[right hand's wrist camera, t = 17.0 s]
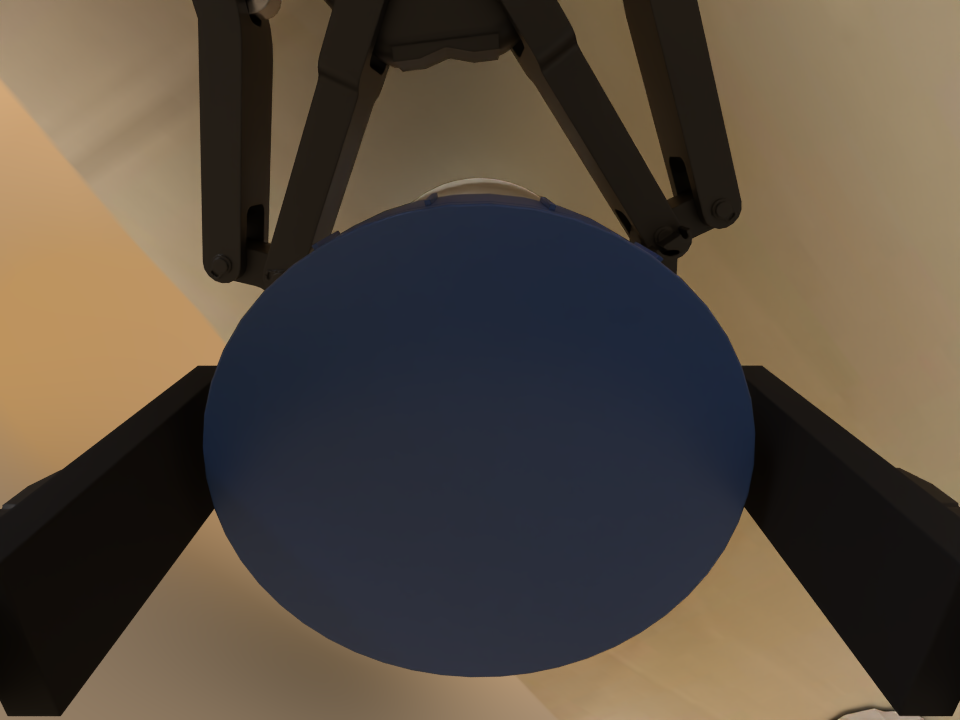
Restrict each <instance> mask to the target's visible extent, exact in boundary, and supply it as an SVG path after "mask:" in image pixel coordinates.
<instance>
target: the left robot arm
mask: <svg viewBox="0 0 960 720" xmlns="http://www.w3.org/2000/svg"><path fill="white" fill-rule="evenodd" d="M192 1H193V4H194V8H195V11H196V14H197V17H198V39H199V90H200V140H201V191H202V242H203V265H204V269H205V271H206V272H207V274H208V275H209V276H210V277H211V278H212V279H213V280H215V281H218V282H220V283H230V282H232V281H237V282H241V283H245V284H250V285H254V286H257V287H260V288H262V289H264V290H266V289H267V288H268V287H269V286H270V285H271V284H272V283H273V282H274V281H275V280H277V279H278V278H279V277H280V276H281V275H282V274H283V273H284V272H285V271H286V270H288V269H289V268H290V267H291V266H292V265H293V264H295V263H296V262H298V261H299V260H301V259H302V258H304V257H305V256H307V255H308V254H310V253H311V252H313V251H314V249H313V247H312V245H314V244H315V243H317V242H319V241H320V240H322V239H324V238H326V237H327V236H329V235H331V233H332V230H333V227H334V224H335V221H336V218H337V215H338V211H339V208H340V205H341V202H342V199H343V196H344V193H345V190H346V187H347V184H348V181H349V178H350V175H351V172H352V169H353V166H354V163H355V160H356V157H357V153H358V150H359V147H360V144H361V141H362V138H363V135H364V132H365V129H366V126H367V123H368V120H369V117H370V114H371V111H372V108H373V105H374V103H375V101H376V99H377V98H378V96H379V94H380V92H381V89H382V87H383V84H384V81H385V78H386V75H387V72H388V69H389V66H393V67H397V68H400V69H401V70H402V71H403V72H404V71H412V70H420V69H426V68H429V67H431V66H433V65H435V64H438V63H440V62H442V61H444V60H447V59H457V60H462V61H468V62H474V63H476V62H484V61H492V60H498V57H499V55H502V54H504V53H505V52H507V51H509V50H510V49H511V51H512V52H513V54H514V56H515V57H516V59H517V61H518V62H519V64H520V65H521V67H522V69H523V70H524V72H525V73H526V75H527V76H528V77H529V79H530V80H531V81H532V82H533V83H534V84H535V86H536V87H537V89H538V91H539V92H540V94H541V95H542V97H543V99H544V100H545V102H546V104H547V105H548V107H549V108H550V110H551V112H552V113H553V115H554V116H555V118H556V120H557V121H558V123H559V125H560V126H561V128H562V129H563V131H564V133H565V134H566V136H567V138H568V139H569V141H570V142H571V144H572V146H573V147H574V149H575V151H576V152H577V154H578V155H579V157H580V159H581V160H582V162H583V164H584V165H585V167H586V168H587V170H588V172H589V173H590V175H591V177H592V178H593V180H594V181H595V183H596V185H597V186H598V188H599V189H600V191H601V193H602V194H603V196H604V198H605V199H606V201H607V202H608V204H609V206H610V207H611V209H612V211H613V212H614V214H615V215H616V217H617V219H618V220H619V222H620V224H621V225H622V227H623V228H624V230H625V232H626V233H627V235H628V237H629V238H630V242H631V243H633V244H634V243H635V242H637V243H639V244H641V245H642V246H644V247H646V248H648V249H649V250H651V251H653V252H654V253H656V254H658V255H659V256H661V257H662V258H663V260H662V261H661V263H662V264H664V265H665V266H666V267H667V268H669V269H670V270H671V271H672V272H674V273H675V274H676V275H677V259H678V258H679V257H681V256H683V255H684V254H685V253H686V252H687V251H688V249H689V247H690V245H691V243H692V238H694V237H696V236H698V235H700V234H702V233H705V232H707V231H709V230H711V229H713V228H717V229H721V228H726V227H728V226H730V225H731V224H733V223H734V222H735V221H736V220H737V218H738V217H739V215H740V212H741V198H740V193H739V189H738V184H737V180H736V175H735V171H734V166H733V162H732V157H731V152H730V148H729V143H728V139H727V134H726V130H725V125H724V121H723V116H722V111H721V107H720V102H719V98H718V93H717V89H716V84H715V80H714V75H713V70H712V66H711V61H710V57H709V52H708V48H707V43H706V39H705V34H704V29H703V25H702V20H701V16H700V11H699V7H698V2H697V0H623V4H624V9H625V13H626V18H627V22H628V25H629V29H630V33H631V37H632V41H633V44H634V48H635V52H636V56H637V59H638V63H639V67H640V71H641V75H642V78H643V82H644V86H645V90H646V94H647V97H648V101H649V105H650V109H651V112H652V116H653V120H654V124H655V128H656V131H657V135H658V139H659V143H660V146H661V150H662V154H663V158H664V162H665V165H666V169H667V173H668V177H669V181H670V184H671V188H672V192H673V196H674V197H673V198H670V199H668V200H666V198H665V196H664V195H663V193H662V191H661V189H660V188H659V186H658V184H657V182H656V181H655V179H654V177H653V175H652V174H651V172H650V170H649V168H648V167H647V165H646V163H645V162H644V160H643V158H642V156H641V155H640V153H639V151H638V149H637V148H636V146H635V144H634V142H633V141H632V139H631V137H630V135H629V134H628V132H627V130H626V128H625V127H624V125H623V123H622V122H621V120H620V118H619V116H618V115H617V113H616V111H615V109H614V108H613V106H612V104H611V102H610V101H609V99H608V97H607V95H606V94H605V92H604V90H603V89H602V87H601V85H600V83H599V82H598V80H597V78H596V76H595V75H594V73H593V71H592V69H591V68H590V66H589V64H588V62H587V61H586V59H585V57H584V56H583V54H582V52H581V50H580V48H579V46H578V44H577V41H576V36H575V33H574V31H573V28H572V26H571V24H570V22H569V20H568V19H567V17H566V15H565V13H564V12H563V10H562V8H561V7H560V5H559V3H558V1H557V0H324V1H325V2H326V3H327V4H328V6H329V7H330V8H331V9H332V13H331V17H330V20H329V24H328V27H327V31H326V34H325V38H324V41H323V45H322V48H321V52H320V56H319V60H318V74H319V76H318V82H317V86H316V89H315V93H314V96H313V100H312V103H311V107H310V110H309V114H308V117H307V121H306V124H305V128H304V131H303V135H302V138H301V141H300V145H299V148H298V152H297V155H296V159H295V162H294V166H293V169H292V173H291V176H290V180H289V183H288V187H287V190H286V194H285V197H284V200H283V204H282V207H281V211H280V214H279V218H278V221H277V225H276V228H275V232H274V235H273V239H272V242H271V244H270V243H268V233H269V195H270V156H271V118H272V79H273V44H272V36H271V28H270V24H269V19H270V18H273V17H274V16H275V15H276V14H277V13H278V11H279V10H280V7H281V3H282V0H192Z"/></svg>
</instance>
